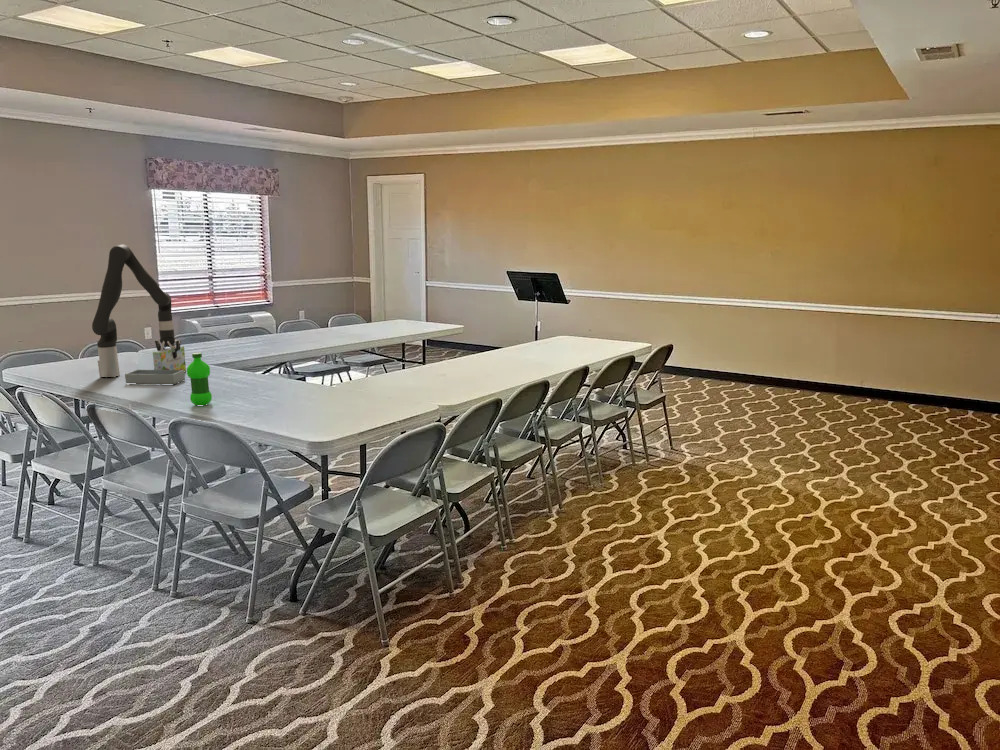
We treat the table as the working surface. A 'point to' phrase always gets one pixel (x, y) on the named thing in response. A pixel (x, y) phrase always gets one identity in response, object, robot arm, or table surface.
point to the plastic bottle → (199, 380)
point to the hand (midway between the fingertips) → (169, 358)
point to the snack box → (169, 360)
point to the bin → (155, 376)
